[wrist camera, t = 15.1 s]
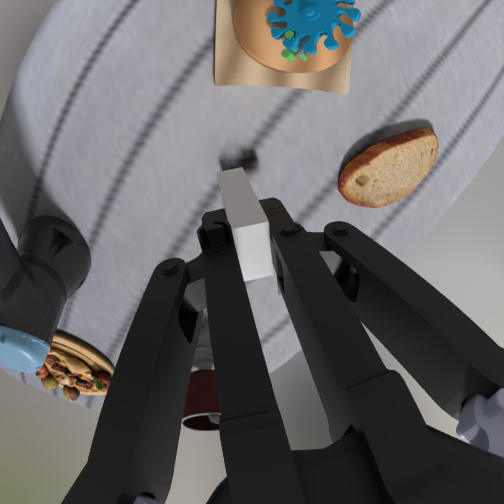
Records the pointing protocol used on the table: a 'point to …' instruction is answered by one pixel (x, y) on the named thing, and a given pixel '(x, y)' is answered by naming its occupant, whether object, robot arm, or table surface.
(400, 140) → the slice of bread
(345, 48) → the bread on wooden board
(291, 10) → the gear
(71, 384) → the wooden plate with food
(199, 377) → the mate gourd
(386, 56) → the table surface
